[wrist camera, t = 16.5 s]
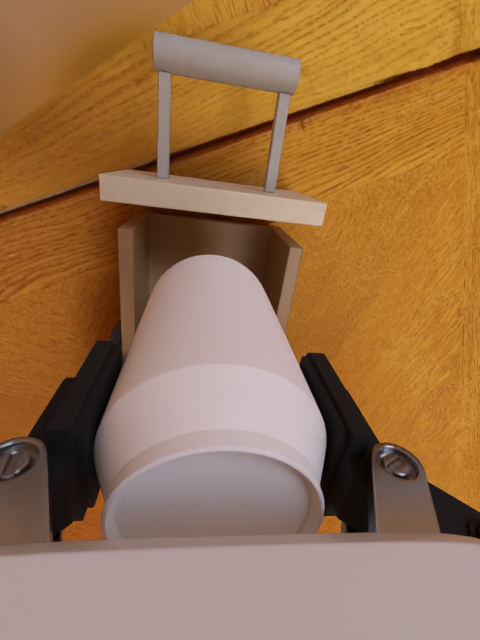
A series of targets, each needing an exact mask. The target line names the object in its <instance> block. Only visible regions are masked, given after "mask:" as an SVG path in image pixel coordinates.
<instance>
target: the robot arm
mask: <svg viewBox="0 0 480 640" xmlns="http://www.w3.org/2000/svg"><path fill="white" fill-rule="evenodd" d="M299 367H300V369H301V371H302V373H303V375H304V378H305V380H306V382H307V384H308V386H309V389H310V391H311V393H312V395H313V397H314V400H315V402H316V404H317V406H318V409H319V411H320V413H321V415H322V418H323V421H324V424H325V428H326V434H327V447H326V454H325V459H324V465H323V470H322V476H321V481H320V487H321V490H322V493H323V497H324V503H325V509H324V516H337V518H338V519H340V520H341V521H342V523H341V533H328V534H283V535H245V536H210V537H175V538H145V539H115V540H85V541H63V538H62V530H63V529H65V528H66V527H67V526H69V525H70V524H72V522H73V521H83V519H84V516H85V513H86V510H87V508H93V507H94V505H95V503H96V499H97V496H98V493H99V490H100V483H99V480H98V476H97V472H96V468H95V464H94V441H95V437H96V433H97V430H98V428H99V425H100V422H101V420H102V417H103V415H104V412H105V410H106V407H107V404H108V402H109V399H110V397H111V394H112V392H113V389H114V387H115V384H116V382H117V379H118V376H119V374H120V371H121V369H122V348H121V346H116V343H115V341H99V340H98V341H97V342H96V343H95V345H94V346H93V348H92V350H91V352H90V353H89V355H88V357H87V358H86V360H85V362H84V363H83V365H82V367H81V368H80V370H79V372H78V374H77V375H76V377H75V378H65V379H64V380H63V382H62V383H61V385H60V386H59V388H58V390H57V391H56V393H55V394H54V396H53V397H52V399H51V401H50V402H49V404H48V405H47V407H46V408H45V410H44V412H43V413H42V415H41V416H40V418H39V419H38V421H37V423H36V424H35V426H34V427H33V429H32V430H31V432H30V434H29V435H28V437H18V438H13V439H10V440H7V441H4V442H1V443H0V640H480V512H478V511H476V510H475V509H473V508H471V507H470V506H468V505H466V504H465V503H463V502H461V501H460V500H458V499H456V498H454V497H453V496H451V495H449V494H448V493H446V492H444V491H443V490H441V489H439V488H437V487H436V486H434V485H432V484H431V483H429V482H428V481H427V477H426V473H425V470H424V468H423V466H422V464H421V463H420V461H419V460H418V459H417V458H416V457H415V456H414V455H413V454H412V453H411V452H409V451H408V450H406V449H404V448H403V447H400V446H398V445H396V444H392V443H379V441H378V439H377V438H376V436H375V434H374V433H373V431H372V430H371V428H370V426H369V425H368V423H367V421H366V420H365V418H364V417H363V415H362V413H361V412H360V410H359V408H358V407H357V405H356V404H355V402H354V400H353V399H352V397H351V395H350V394H349V392H348V391H347V390H346V389H345V387H344V386H343V384H342V382H341V381H340V379H339V377H338V376H337V374H336V373H335V371H334V369H333V368H332V366H331V364H330V363H329V361H328V359H327V358H326V356H325V355H324V354H322V353H307V355H306V356H303V357H302V358H301V362H300V366H299Z"/></svg>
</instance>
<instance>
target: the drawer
mask: <svg viewBox="0 0 480 640" xmlns="http://www.w3.org/2000/svg"><path fill="white" fill-rule="evenodd" d="M153 63H154V69H155V71H156V72H158V135H157V173H153V172H145V171H138V170H130V169H128V170H122V171H116V172H109V173H103V174H99V189H100V200H101V201H108V202H116V203H125V204H133V205H142V206H150V207H159V208H167V209H176V210H184V211H193V212H201V213H210V214H218V215H227V216H235V217H244V218H252V219H261V220H269V221H278V222H286V223H295V224H303V225H312V226H320V227H321V226H322V224H323V220H324V216H325V212H326V207H327V203H324V202H322V201H319V200H316V199H314V198H311V197H308V196H306V195H303V194H300V193H298V192H295V191H288V190H281V189H275V187H276V181H277V175H278V169H279V163H280V157H281V151H282V145H283V139H284V133H285V126H286V120H287V114H288V108H289V102H290V95H291V96H292V95H294V93H295V91H296V89H297V86H298V82H299V78H300V71H301V60H300V59H297V58H292V57H287V56H282V55H276V54H271V53H266V52H261V51H256V50H251V49H246V48H241V47H236V46H230V45H225V44H220V43H215V42H210V41H205V40H200V39H195V38H190V37H184V36H179V35H174V34H169V33H164V32H159V31H155V32H154V35H153ZM171 74H173V75H178V76H184V77H189V78H195V79H201V80H206V81H212V82H218V83H223V84H229V85H234V86H240V87H246V88H251V89H257V90H263V91H268V92H274V93H279V94H278V95H277V101H276V108H275V115H274V121H273V128H272V135H271V141H270V148H269V155H268V162H267V168H266V175H265V182H264V187H258V186H251V185H243V184H236V183H228V182H221V181H213V180H206V179H198V178H191V177H183V176H176V175H169V160H170V124H171V88H172V76H171ZM117 236H118V261H119V286H120V311H121V336H122V360H125V359H126V356H127V354H128V351H129V349H130V346H131V343H132V341H133V338H134V336H135V333H136V331H137V328H138V326H139V323H140V321H141V318H142V316H143V313H144V311H145V308H146V306H147V303H148V301H149V298H150V296H151V293H152V291H153V289H154V287H155V285H156V283H157V282H158V280H159V279H160V278H161V276H162V275H163V274H164V273H165V272H166V271H167V270H168V269H169V268H171V267H172V266H173V265H175V264H177V263H178V262H180V261H182V260H184V259H187V258H190V257H194V256H199V255H219V256H224V257H227V258H230V259H233V260H235V261H237V262H239V263H241V264H242V265H244V266H245V267H246V268H248V269H249V270H250V271H251V272H252V273H253V274H254V275H255V276H256V277H257V279H258V280H259V282H260V283H261V285H262V287H263V289H264V291H265V293H266V295H267V297H268V299H269V301H270V303H271V305H272V308H273V310H274V312H275V314H276V316H277V318H278V321H279V323H280V325H281V327H282V329H283V332H284V334H285V331H286V326H287V321H288V317H289V312H290V307H291V303H292V298H293V294H294V289H295V284H296V280H297V275H298V270H299V266H300V261H301V257H302V252H303V248H302V247H301V246H300V245H298V244H297V243H296V242H295V241H294V240H293V239H292V238H291V237H290V236H289V235H288V234H287V233H285V232H284V231H283V230H282V229H281V228H280V227H276V226H267V225H258V224H250V223H241V222H232V221H224V220H215V219H206V218H198V217H189V216H180V215H172V214H163V213H154V212H146V211H139V212H137V213H136V214H135V215H134V216H133V217H131V218H130V219H129V220H128V221H126V222H125V223H124V224H123V225H122V226H120V227H119V228H118V229H117Z"/></svg>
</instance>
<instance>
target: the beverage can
mask: <svg viewBox="0 0 480 640" xmlns="http://www.w3.org/2000/svg"><path fill="white" fill-rule="evenodd" d="M326 447H327V434H326V428H325V424H324V421H323V418H322V415H321V413H320V411H319V409H318V406H317V404H316V402H315V400H314V397H313V395H312V393H311V391H310V389H309V386H308V384H307V382H306V380H305V378H304V375H303V373H302V371H301V369H300V367H299V365H298V362H297V360H296V358H295V356H294V354H293V351H292V349H291V347H290V345H289V343H288V340H287V338H286V336H285V334H284V332H283V329H282V327H281V325H280V323H279V321H278V318H277V316H276V314H275V312H274V310H273V308H272V305H271V303H270V301H269V299H268V297H267V295H266V293H265V291H264V289H263V287H262V285H261V283H260V282H259V280H258V279H257V277H256V276H255V275H254V274H253V273H252V272H251V271H250V270H249V269H248V268H246V267H245V266H244V265H242V264H241V263H239V262H237V261H235V260H233V259H230V258H227V257H224V256H219V255H199V256H194V257H190V258H187V259H184V260H182V261H180V262H178V263H177V264H175V265H173V266H172V267H171V268H169V269H168V270H167V271H166V272H165V273H164V274H163V275H162V276H161V278H160V279H159V280H158V282H157V283H156V285H155V287H154V289H153V291H152V293H151V296H150V298H149V301H148V303H147V306H146V308H145V311H144V313H143V316H142V318H141V321H140V323H139V326H138V328H137V331H136V333H135V336H134V338H133V341H132V343H131V346H130V349H129V351H128V354H127V356H126V359H125V361H124V364H123V366H122V369H121V371H120V374H119V376H118V379H117V382H116V384H115V387H114V389H113V392H112V394H111V397H110V399H109V402H108V404H107V407H106V410H105V412H104V415H103V417H102V420H101V422H100V425H99V428H98V430H97V433H96V437H95V441H94V464H95V468H96V472H97V476H98V480H99V483H100V487H101V491H102V494H103V498H104V502H105V505H104V508H103V512H102V516H101V531H102V535H103V538H104V540H115V539H145V538H175V537H210V536H245V535H283V534H316V533H317V531H318V529H319V527H320V525H321V523H322V520H323V516H324V509H325V503H324V497H323V493H322V490H321V487H320V481H321V476H322V470H323V465H324V459H325V454H326Z"/></svg>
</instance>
